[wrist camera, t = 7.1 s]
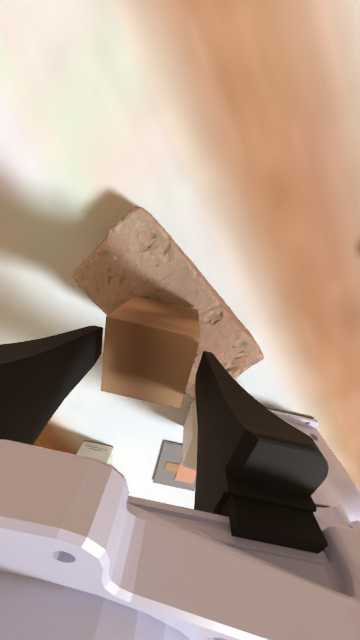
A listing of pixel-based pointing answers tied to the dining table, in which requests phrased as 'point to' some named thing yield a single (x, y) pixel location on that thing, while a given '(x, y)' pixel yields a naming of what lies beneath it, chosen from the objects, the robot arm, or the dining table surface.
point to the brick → (164, 288)
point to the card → (174, 468)
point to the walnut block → (150, 350)
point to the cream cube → (190, 439)
